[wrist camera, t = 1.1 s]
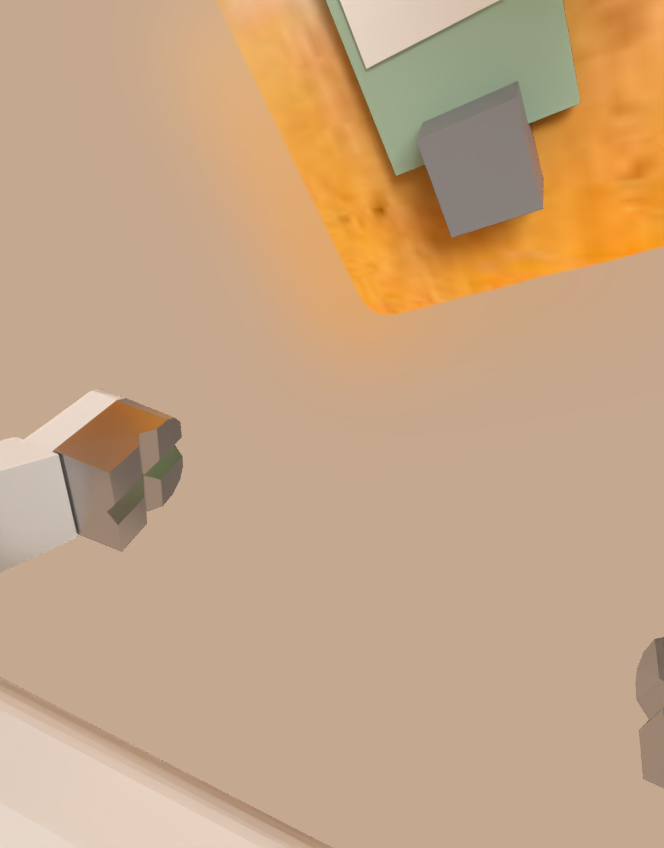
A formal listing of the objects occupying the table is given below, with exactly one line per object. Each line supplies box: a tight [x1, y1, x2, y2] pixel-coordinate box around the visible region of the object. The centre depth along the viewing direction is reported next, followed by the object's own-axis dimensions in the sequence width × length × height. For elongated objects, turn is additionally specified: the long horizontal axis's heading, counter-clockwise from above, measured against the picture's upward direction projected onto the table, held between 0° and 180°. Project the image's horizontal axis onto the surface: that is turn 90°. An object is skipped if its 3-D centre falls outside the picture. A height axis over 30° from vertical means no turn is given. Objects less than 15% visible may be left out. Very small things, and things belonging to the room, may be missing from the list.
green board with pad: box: [326, 0, 580, 237], centre depth 36 cm, size 27×14×5 cm, turn 27°
